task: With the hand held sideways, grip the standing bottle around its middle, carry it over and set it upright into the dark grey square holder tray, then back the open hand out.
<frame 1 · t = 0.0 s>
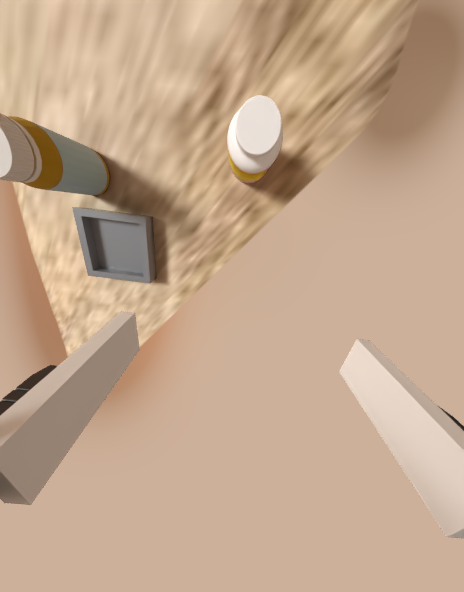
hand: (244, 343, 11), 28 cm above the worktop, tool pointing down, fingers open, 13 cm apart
bottle: (92, 172, 31), on the worktop
supplement bottle: (249, 160, 30), on the worktop
holder: (123, 245, 36), on the worktop
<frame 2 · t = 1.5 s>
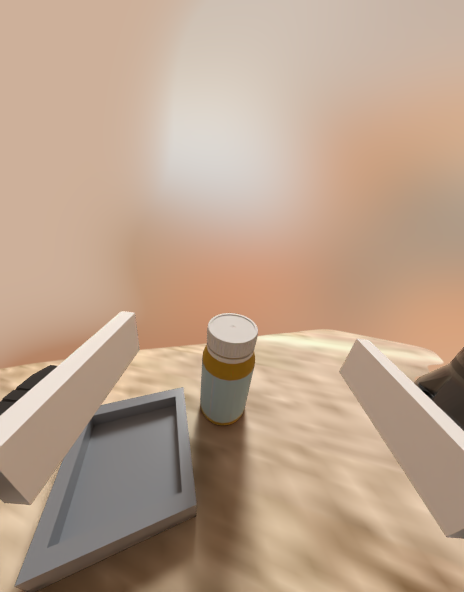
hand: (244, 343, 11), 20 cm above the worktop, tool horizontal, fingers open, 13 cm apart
bottle: (222, 404, 28), on the worktop
holder: (134, 462, 21), on the worktop
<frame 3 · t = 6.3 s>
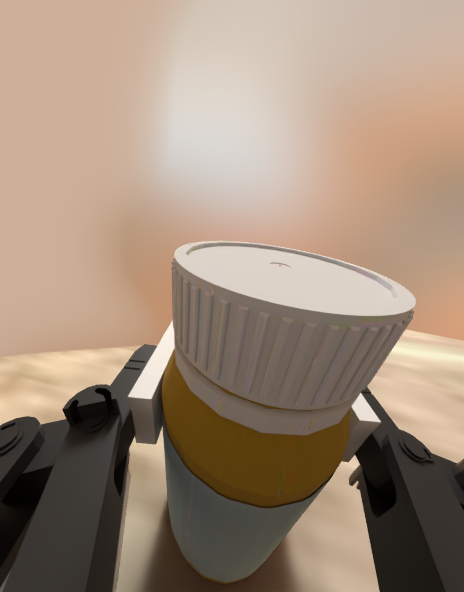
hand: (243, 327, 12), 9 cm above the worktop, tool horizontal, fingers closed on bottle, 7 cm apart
bottle: (225, 486, 12), on the worktop, touching gripper
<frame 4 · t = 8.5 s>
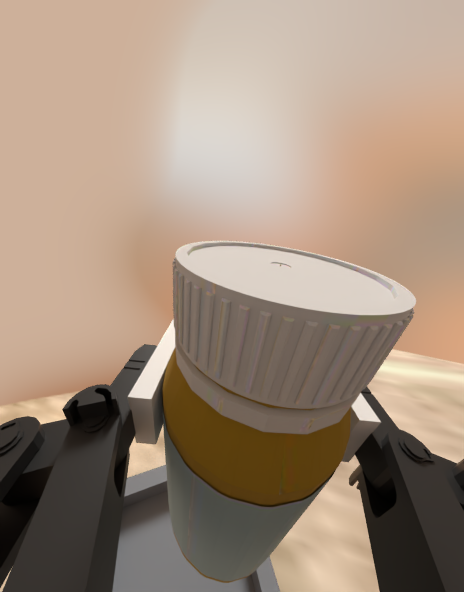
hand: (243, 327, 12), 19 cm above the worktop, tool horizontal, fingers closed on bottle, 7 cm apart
bottle: (225, 486, 12), point 10 cm above the worktop, touching gripper
holder: (182, 578, 14), on the worktop
when the fingers open (11 cm above the worktop, at t = 10.8 s): bottle drops 1 cm, resting on holder.
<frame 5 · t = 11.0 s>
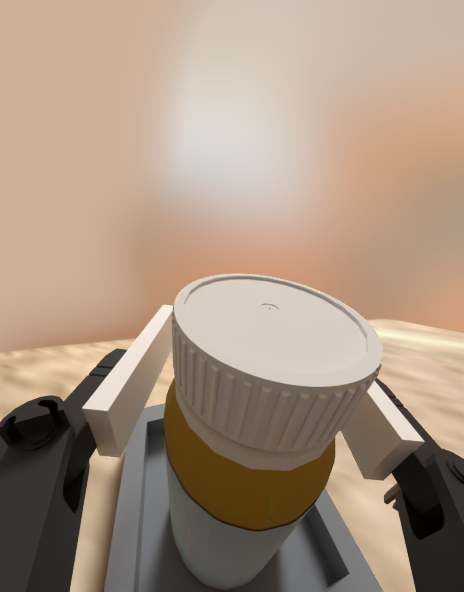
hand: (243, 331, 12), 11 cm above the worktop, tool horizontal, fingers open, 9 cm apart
bottle: (224, 496, 12), point 1 cm above the worktop, touching holder
holder: (221, 500, 13), on the worktop
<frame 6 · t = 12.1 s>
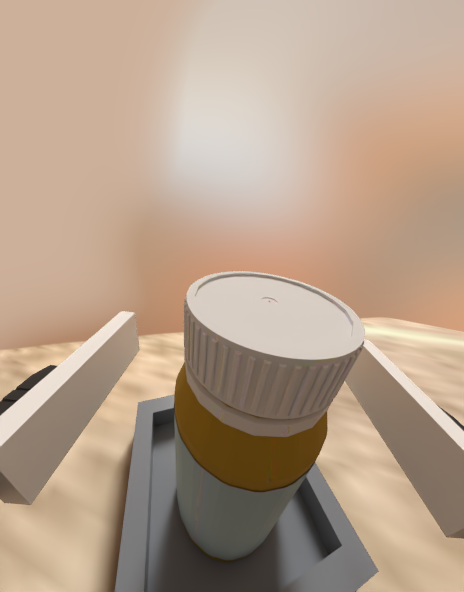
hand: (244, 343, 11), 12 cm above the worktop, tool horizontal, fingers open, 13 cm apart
bottle: (226, 480, 13), point 1 cm above the worktop, touching holder
holder: (223, 485, 13), on the worktop
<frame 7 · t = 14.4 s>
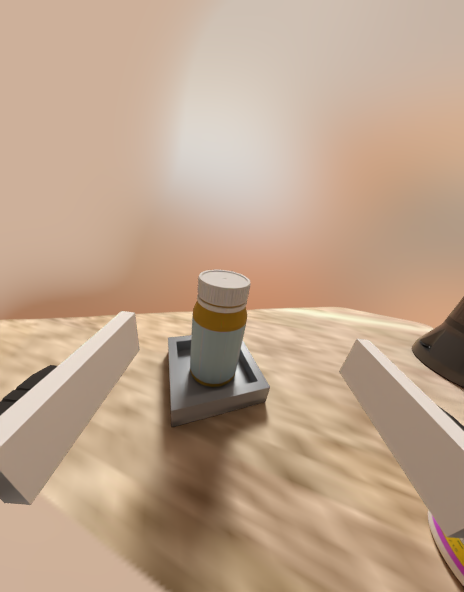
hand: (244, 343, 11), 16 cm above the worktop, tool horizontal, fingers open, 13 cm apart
bottle: (212, 370, 27), point 1 cm above the worktop, touching holder
holder: (211, 374, 28), on the worktop
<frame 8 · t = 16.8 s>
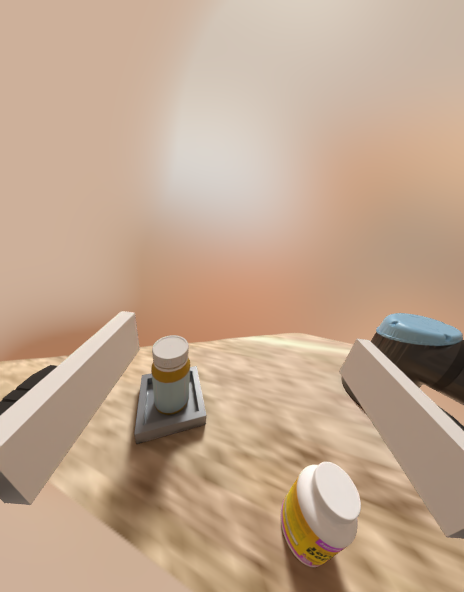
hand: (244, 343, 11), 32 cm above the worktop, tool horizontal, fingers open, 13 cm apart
bottle: (172, 400, 38), point 1 cm above the worktop, touching holder
supplement bottle: (302, 527, 25), on the worktop
holder: (171, 402, 39), on the worktop
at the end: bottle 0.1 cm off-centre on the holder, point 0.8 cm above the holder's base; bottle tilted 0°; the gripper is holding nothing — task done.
